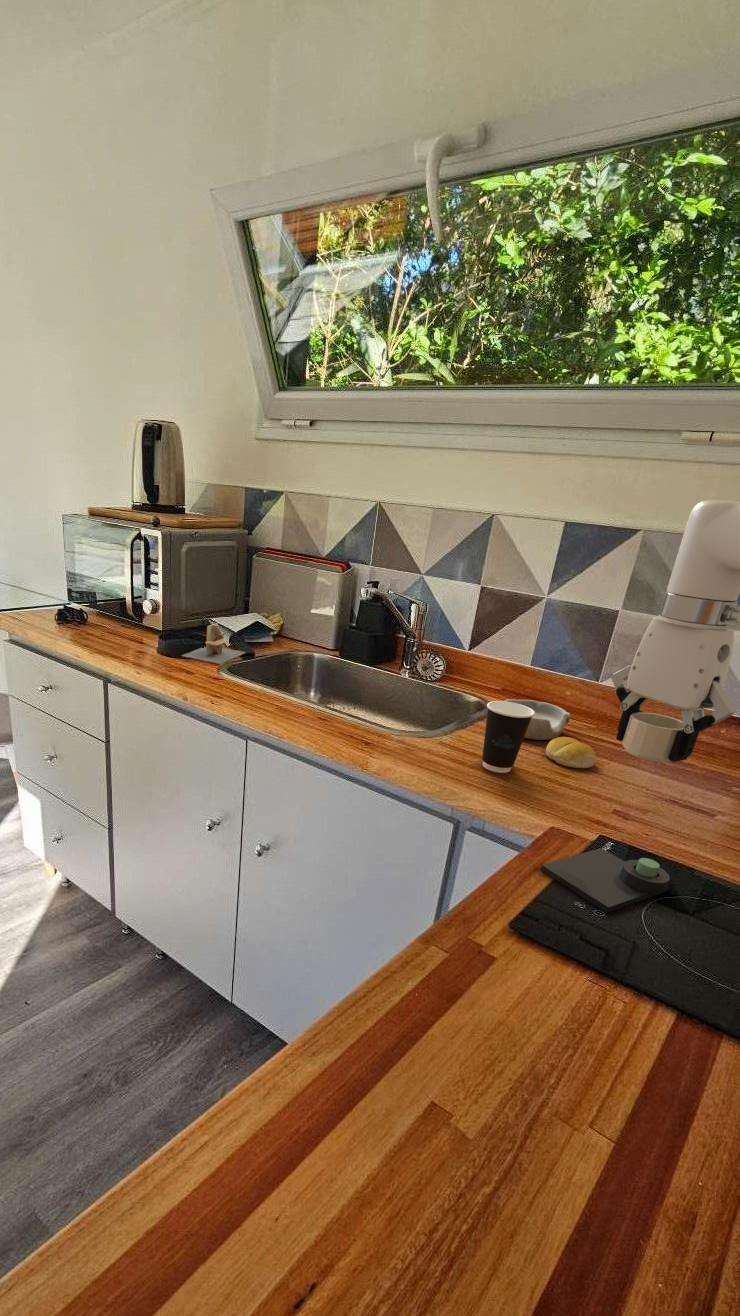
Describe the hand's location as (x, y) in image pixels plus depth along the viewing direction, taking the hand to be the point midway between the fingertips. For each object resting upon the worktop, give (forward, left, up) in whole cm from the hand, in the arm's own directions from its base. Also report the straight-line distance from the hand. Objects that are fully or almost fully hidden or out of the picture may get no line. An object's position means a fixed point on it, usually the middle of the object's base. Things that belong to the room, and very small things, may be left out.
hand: (650, 748), depth 87 cm
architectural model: (+13, -109, -15) cm, 111 cm away
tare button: (+6, +8, -13) cm, 17 cm away
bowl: (0, 0, -1) cm, 1 cm away
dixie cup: (-5, -28, -15) cm, 32 cm away
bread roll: (-22, -26, -15) cm, 37 cm away
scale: (+10, +5, -15) cm, 19 cm away
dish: (-27, -41, -15) cm, 51 cm away
